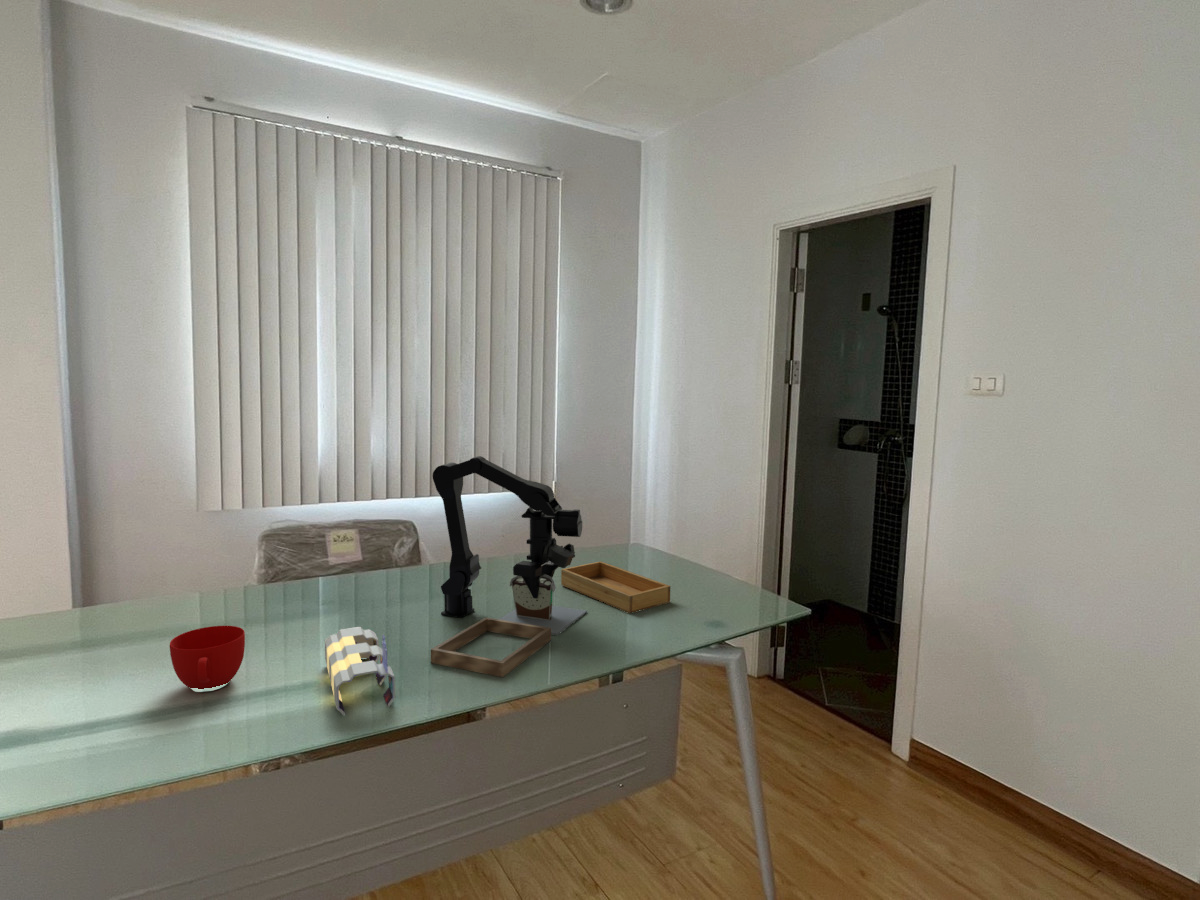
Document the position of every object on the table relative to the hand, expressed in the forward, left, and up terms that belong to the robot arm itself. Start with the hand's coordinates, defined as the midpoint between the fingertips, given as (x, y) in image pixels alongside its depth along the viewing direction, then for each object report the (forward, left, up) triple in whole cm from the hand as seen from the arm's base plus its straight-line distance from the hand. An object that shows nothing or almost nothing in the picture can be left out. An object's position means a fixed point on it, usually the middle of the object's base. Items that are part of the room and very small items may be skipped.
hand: (541, 594), depth 175 cm
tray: (+9, +27, -7) cm, 29 cm away
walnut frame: (0, -23, -6) cm, 24 cm away
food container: (-1, +1, -6) cm, 6 cm away
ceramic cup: (-41, -62, -6) cm, 75 cm away
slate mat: (0, 0, -6) cm, 6 cm away
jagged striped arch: (-16, -49, -7) cm, 52 cm away
